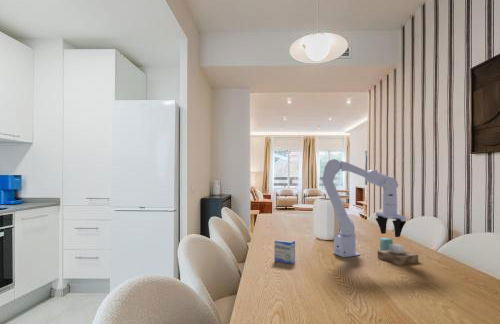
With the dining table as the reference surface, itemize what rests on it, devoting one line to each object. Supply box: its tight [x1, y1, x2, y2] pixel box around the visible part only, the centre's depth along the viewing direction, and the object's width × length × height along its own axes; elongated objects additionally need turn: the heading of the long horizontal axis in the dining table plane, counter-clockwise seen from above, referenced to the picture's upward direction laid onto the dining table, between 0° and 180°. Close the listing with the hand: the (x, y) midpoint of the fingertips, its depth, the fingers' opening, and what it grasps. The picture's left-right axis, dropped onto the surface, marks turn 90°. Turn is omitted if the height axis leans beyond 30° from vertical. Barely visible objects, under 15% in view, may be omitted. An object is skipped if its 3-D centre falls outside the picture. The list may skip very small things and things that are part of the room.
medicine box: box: [273, 239, 296, 265], centre depth 125 cm, size 8×4×9 cm, turn 62°
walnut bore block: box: [377, 250, 419, 266], centre depth 126 cm, size 11×11×3 cm
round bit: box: [379, 237, 394, 251], centre depth 140 cm, size 6×6×6 cm
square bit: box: [389, 243, 405, 255], centre depth 126 cm, size 4×4×6 cm
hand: (390, 235), depth 131 cm, fingers open, 7 cm apart
